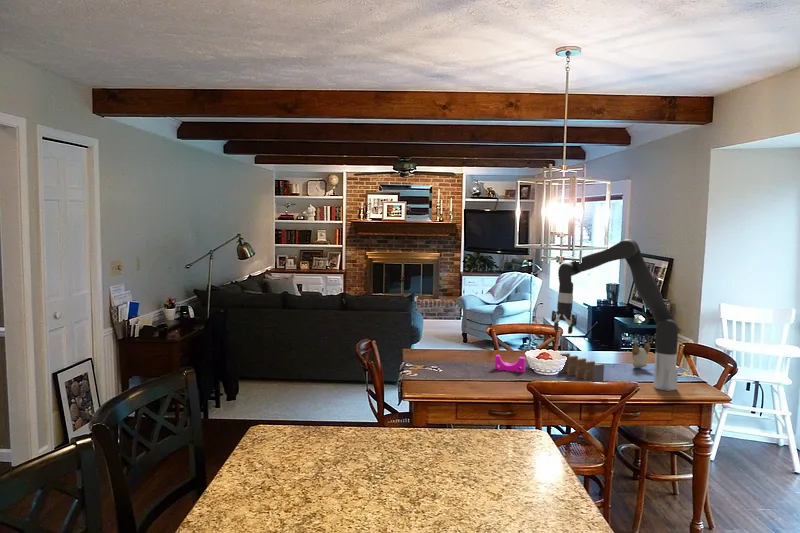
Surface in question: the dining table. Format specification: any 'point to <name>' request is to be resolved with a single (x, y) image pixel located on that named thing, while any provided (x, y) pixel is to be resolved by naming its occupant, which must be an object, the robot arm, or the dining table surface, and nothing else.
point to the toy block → (510, 364)
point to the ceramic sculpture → (640, 355)
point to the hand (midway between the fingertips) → (562, 331)
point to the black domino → (598, 372)
